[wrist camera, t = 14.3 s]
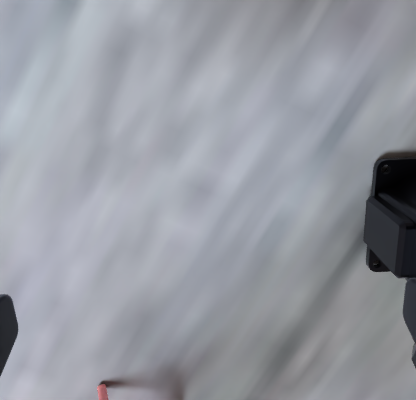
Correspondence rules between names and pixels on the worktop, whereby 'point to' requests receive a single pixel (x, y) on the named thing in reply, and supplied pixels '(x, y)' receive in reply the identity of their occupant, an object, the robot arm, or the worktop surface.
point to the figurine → (102, 392)
